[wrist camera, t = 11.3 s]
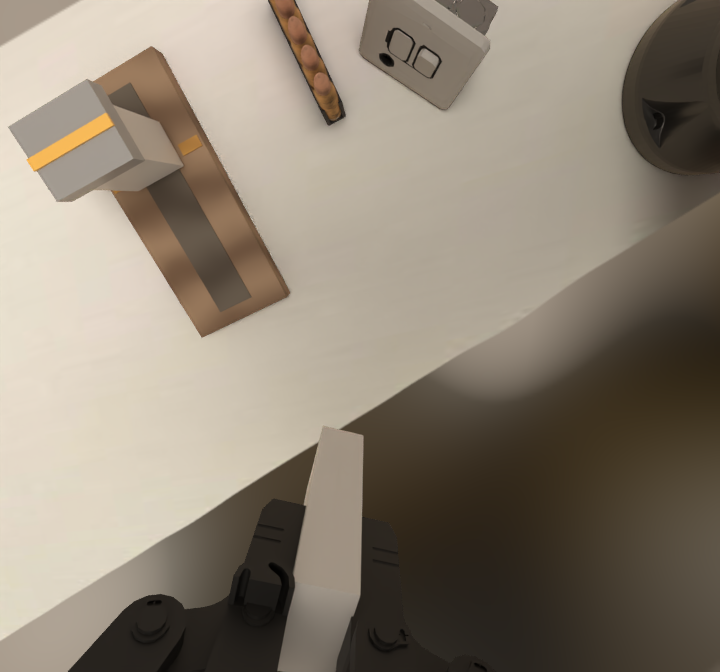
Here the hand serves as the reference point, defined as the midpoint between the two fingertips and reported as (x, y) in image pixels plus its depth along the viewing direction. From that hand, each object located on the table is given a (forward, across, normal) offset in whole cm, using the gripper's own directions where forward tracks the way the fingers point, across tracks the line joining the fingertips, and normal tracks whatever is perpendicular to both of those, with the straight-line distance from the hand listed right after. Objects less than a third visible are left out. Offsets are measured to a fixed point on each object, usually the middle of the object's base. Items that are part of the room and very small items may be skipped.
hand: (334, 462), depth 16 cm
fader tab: (+28, -21, +8) cm, 36 cm away
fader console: (+30, -18, +4) cm, 36 cm away
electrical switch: (+31, 0, +22) cm, 38 cm away
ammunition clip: (+31, -9, +19) cm, 37 cm away
